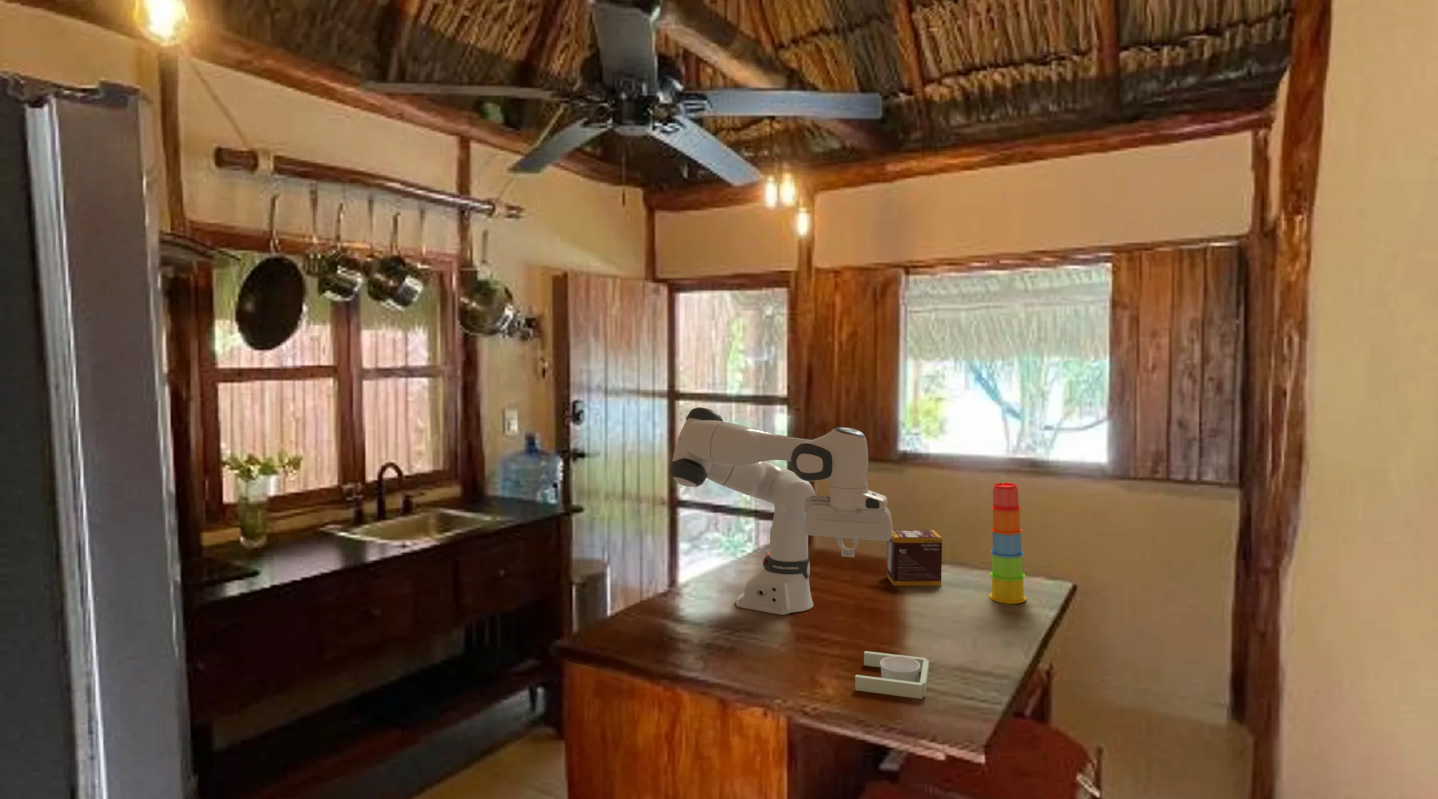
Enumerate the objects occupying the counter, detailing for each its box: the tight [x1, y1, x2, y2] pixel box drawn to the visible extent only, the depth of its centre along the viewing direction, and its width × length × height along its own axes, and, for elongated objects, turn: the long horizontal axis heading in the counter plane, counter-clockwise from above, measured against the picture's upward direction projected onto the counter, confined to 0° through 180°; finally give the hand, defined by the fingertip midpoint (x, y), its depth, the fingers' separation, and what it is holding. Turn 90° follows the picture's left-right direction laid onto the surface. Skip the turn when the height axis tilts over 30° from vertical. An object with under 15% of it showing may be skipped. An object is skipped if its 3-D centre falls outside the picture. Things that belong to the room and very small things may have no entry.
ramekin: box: [880, 656, 920, 682], centre depth 175 cm, size 9×9×4 cm
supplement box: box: [886, 529, 943, 587], centre depth 251 cm, size 10×15×16 cm
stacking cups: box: [989, 482, 1027, 605], centre depth 232 cm, size 10×10×35 cm
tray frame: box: [854, 650, 930, 700], centre depth 176 cm, size 15×15×3 cm
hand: (848, 556), depth 182 cm, fingers closed
